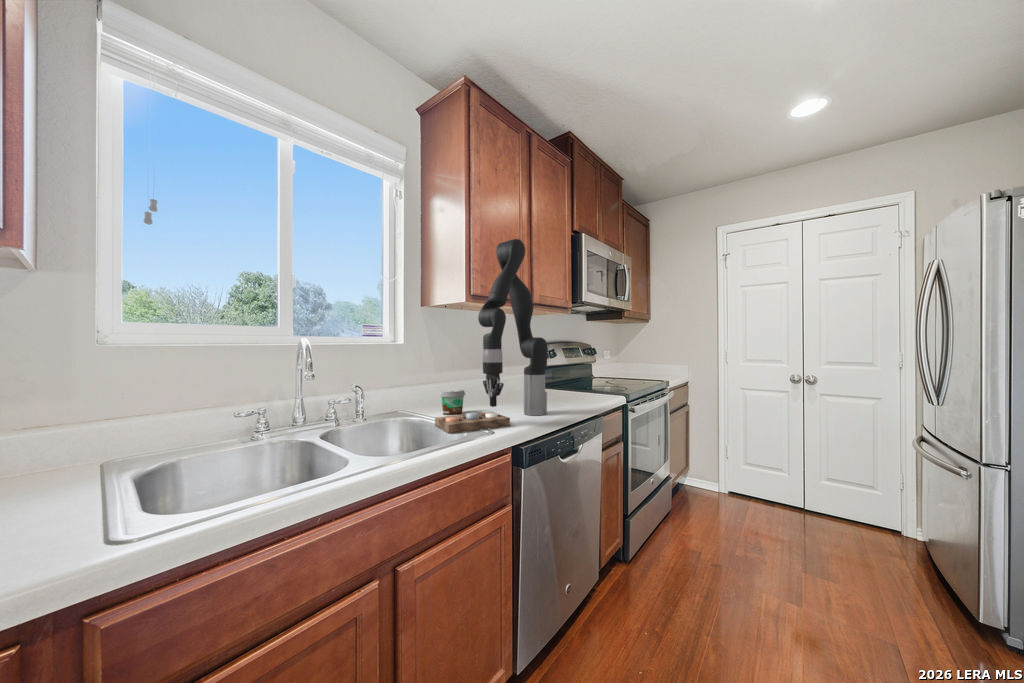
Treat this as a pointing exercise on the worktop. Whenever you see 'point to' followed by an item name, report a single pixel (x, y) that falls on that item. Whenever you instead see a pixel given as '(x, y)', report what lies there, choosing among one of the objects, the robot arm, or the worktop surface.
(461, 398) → the food container
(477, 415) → the slate button
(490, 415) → the cream button
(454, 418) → the terracotta button
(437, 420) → the button panel
